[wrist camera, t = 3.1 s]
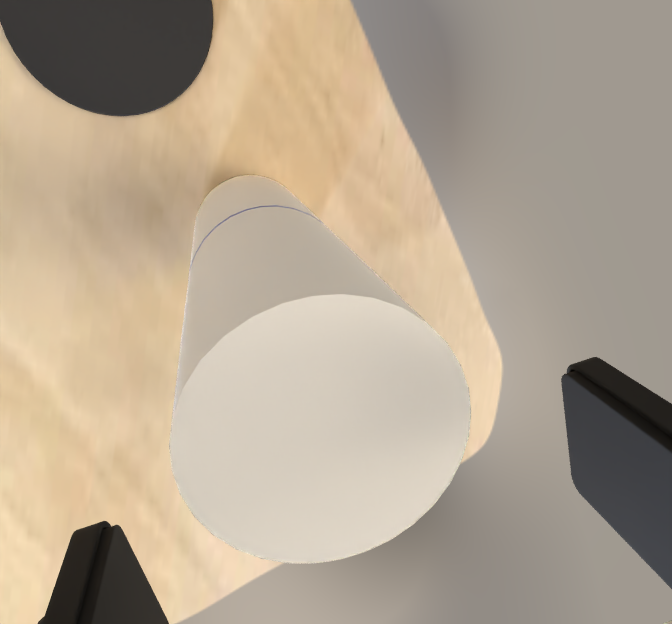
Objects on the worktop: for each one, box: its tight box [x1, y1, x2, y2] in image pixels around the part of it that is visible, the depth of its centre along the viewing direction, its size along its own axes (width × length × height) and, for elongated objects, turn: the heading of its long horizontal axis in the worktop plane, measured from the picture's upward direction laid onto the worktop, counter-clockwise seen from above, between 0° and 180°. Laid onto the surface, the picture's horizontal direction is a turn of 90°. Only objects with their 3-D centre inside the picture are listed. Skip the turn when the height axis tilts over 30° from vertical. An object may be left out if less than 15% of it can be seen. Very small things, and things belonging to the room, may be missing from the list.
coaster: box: [0, 0, 213, 116], centre depth 30 cm, size 11×11×1 cm
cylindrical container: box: [169, 175, 471, 563], centre depth 25 cm, size 7×7×25 cm
